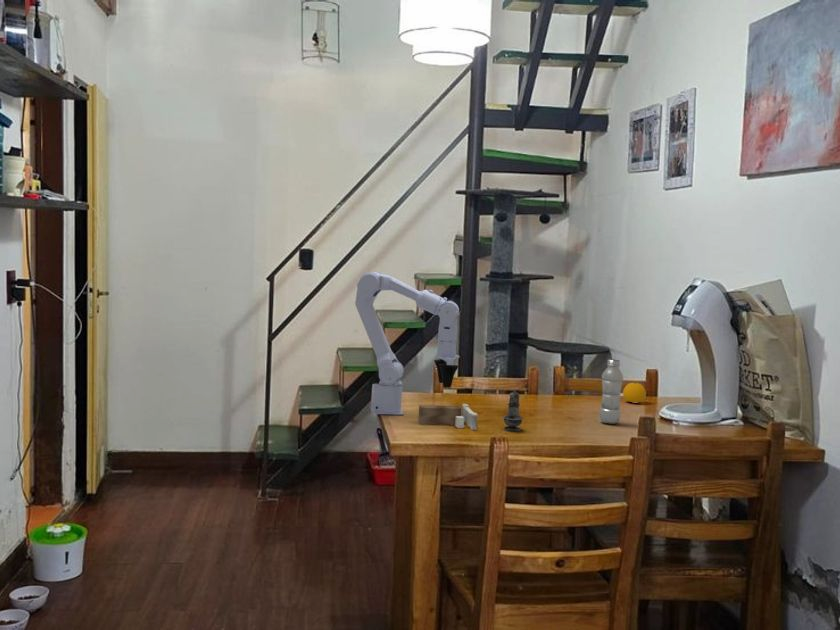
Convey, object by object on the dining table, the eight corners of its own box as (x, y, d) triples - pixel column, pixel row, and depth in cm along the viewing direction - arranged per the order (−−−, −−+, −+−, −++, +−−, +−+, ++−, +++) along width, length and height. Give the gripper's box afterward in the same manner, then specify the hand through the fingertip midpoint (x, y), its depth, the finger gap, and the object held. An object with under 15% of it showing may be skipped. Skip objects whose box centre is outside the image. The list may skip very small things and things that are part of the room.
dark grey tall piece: (519, 427, 241) (521, 387, 240) (524, 432, 235) (527, 391, 234) (499, 427, 240) (502, 386, 239) (505, 431, 234) (507, 390, 233)
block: (420, 424, 238) (420, 407, 237) (418, 421, 241) (419, 405, 241) (460, 425, 239) (461, 408, 239) (457, 422, 243) (458, 406, 242)
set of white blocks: (457, 429, 233) (458, 414, 233) (448, 418, 248) (449, 403, 248) (476, 429, 234) (477, 414, 234) (466, 418, 249) (467, 404, 249)
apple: (629, 405, 286) (630, 384, 286) (618, 400, 294) (620, 380, 293) (649, 405, 288) (651, 384, 288) (638, 400, 296) (640, 380, 295)
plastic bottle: (609, 426, 249) (614, 361, 247) (593, 421, 254) (598, 358, 253) (624, 425, 252) (629, 361, 250) (608, 420, 258) (613, 358, 256)
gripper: (464, 344, 241) (462, 389, 242) (455, 338, 255) (453, 381, 256) (441, 343, 240) (438, 389, 241) (433, 337, 254) (431, 380, 255)
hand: (444, 385), depth 249 cm, fingers open, 7 cm apart
